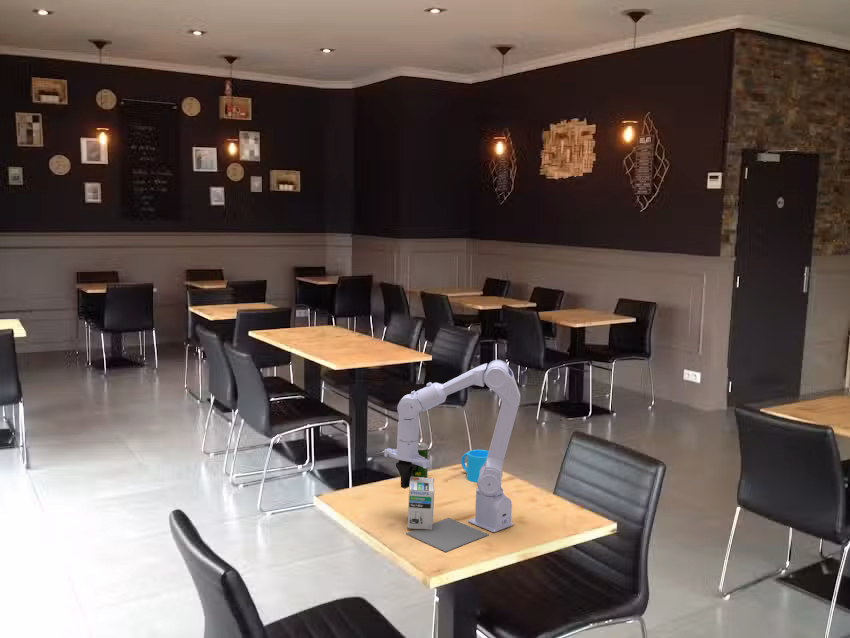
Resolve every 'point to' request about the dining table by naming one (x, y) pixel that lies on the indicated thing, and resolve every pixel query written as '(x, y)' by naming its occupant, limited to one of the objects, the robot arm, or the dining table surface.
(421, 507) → the light bulb box
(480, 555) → the dining table surface
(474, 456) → the mug
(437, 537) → the charcoal rubber mat
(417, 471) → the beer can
